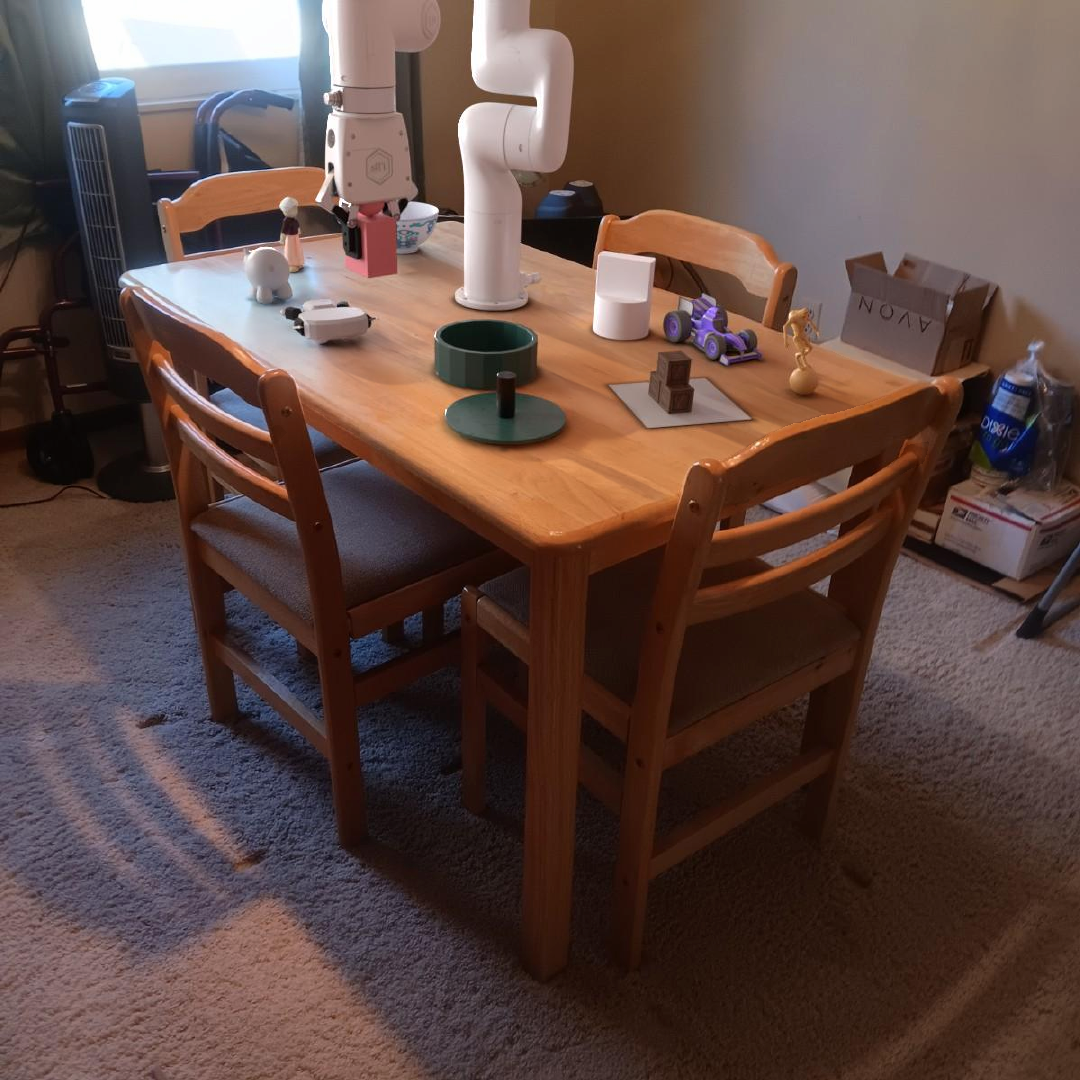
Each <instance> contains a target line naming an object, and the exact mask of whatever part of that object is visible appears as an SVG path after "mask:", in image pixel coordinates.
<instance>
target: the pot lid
mask: <svg viewBox="0 0 1080 1080" xmlns="http://www.w3.org/2000/svg"><path fill="white" fill-rule="evenodd" d="M516 389H517V387H516V374H515V373H513V372H507V371H505V372H500V373H498V374H497V390H496V391H493V392H492V391H491V392H481V393H476V394H471V395H467V396H464V397H462V398H459V399H457V400H455V401H454V402H452V403H450V404H449V406H448V407H447V408H446V409H445V413H444V420H445V423H446V425H447V426H448V427H449V428H450V429H451V430H452V431H453V432H455V433H456V434H458V435H460V436H462V437H465V438H467V439H471V440H473V441H477V442H482V443H487V444H495V445H524V444H531V443H537V442H540V441H545V440H547V439H551V438H552V437H554V436H556V435H557V434H559V433H561V431H563V429H564V427H566V424H567V416H566V412H565V411H564V410H563V408H562V407H560V406H559V405H558V404H556V403H555V402H553V401H551V400H548V399H546V398H543V397H541V396H538V395H534V394H528V393H524V392H523V393H522V392H517V390H516Z"/></svg>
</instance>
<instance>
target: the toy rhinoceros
mask: <svg viewBox="0 0 1080 1080" xmlns="http://www.w3.org/2000/svg"><path fill="white" fill-rule="evenodd" d="M243 254H244V257H243V263H242V264H243V271H244V273H245V276H246V279H247V281H248V282H249V283H250V284H251V285H250V288H249V297H250V298H251V299H254V300H256V301H257V303H259V304H271V303H272V302H273V301H274V297H277V298H278V299H279V300H285V301H286V300H290V299H292V297H293V289H292V287H291V284H290V283H289V278H290V274H291V272H290V268H289V264H288V261H287V259H286V258H285V254H283V253H282V252H281V251H279V250H277V249H275V248H273V247H268V246H265V247H264V246H263V245H261V246H260V247H259V248H257V249H254V250H249V249H248V248H246V247H244V248H243Z"/></svg>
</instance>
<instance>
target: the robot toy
mask: <svg viewBox="0 0 1080 1080" xmlns="http://www.w3.org/2000/svg"><path fill="white" fill-rule="evenodd" d="M279 314H280V315H281V316H285V319H286V320H289V321H293V325H292V330H295V332H297V333H298V334H299V335H301V336H302V337H304V338H305V339H307V340H309V341H310V342H313V343H314V344H319V345H321V344H322V345H323V344H325V343H327V342H329V341H330V340H341V339H343V340H346V341H352V340H355V339H357V338H358V337H360V336H362V335H364V334H366V333H367V332H368V330H369V329H370V328H371V327H372V322H373V321H375V320H379V319H380V318H379V316H375V317H373V316H370V314H368V313H367V312H366V311H364V310H362V309H360V308H359V307H352V306H351V305H350V303H349V301H345V300H343V301H342V300H341V301H338V302H337V304H336V303H335V302H334V301H333V300H332V299H330V298H319V299H310V300H309V299H308V300H307V301H305V302H304V303H303V304H302V309H301V308H298V307H294V306H287V307H286V308H284V309H280V310H279Z"/></svg>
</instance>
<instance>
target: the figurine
mask: <svg viewBox="0 0 1080 1080" xmlns="http://www.w3.org/2000/svg"><path fill="white" fill-rule="evenodd" d="M808 323H809V325H810V327H811V328H812V329H813V330H814V331H815V333H816V335H817V339H821V336H820V333H819V330H818V327H817V326H816V325H815V323H814V322H813V320H812V318H811V317H810V316H809V310H808V308H802V309H794V310H791V311H790V312H789V314H788V320H787V322H786V323H784V325H783V326H782V327H783V328H782V331H783V348H784V350H785V351H788V350H790V348H789V347H790V346H791V345H790V344H789V342H788V328H789V327H790V326H791V328H792V331H793V335H794V336H793V337H792V341H793V344H794V346H795V347H796V349H797V350H798V352H796V353H795V362H796V365H797V368H795V369H794V370H793V371H792V372H791V374H790V376H789V387H790V389H791V390H792V391H793V392H794V393H795V394H798V395H800V396H806V395H810V394H812V393H813V392H814V391H815V390H816V389H817V387H818V385H819V376H818V373H817V371H816V370H815V369H813V368H812V366H811V365H810V364H809V363H808V362H807V359H806V357H805V356H807V355H808V354H809V353H811V352H812V351H813V348H814V347H813V345H812V343H811V342H810V340H809V337H808V334H807V332H806V331H805V329H806V327H807V325H808ZM800 358H801V359H800ZM801 362H802V363H801Z"/></svg>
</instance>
